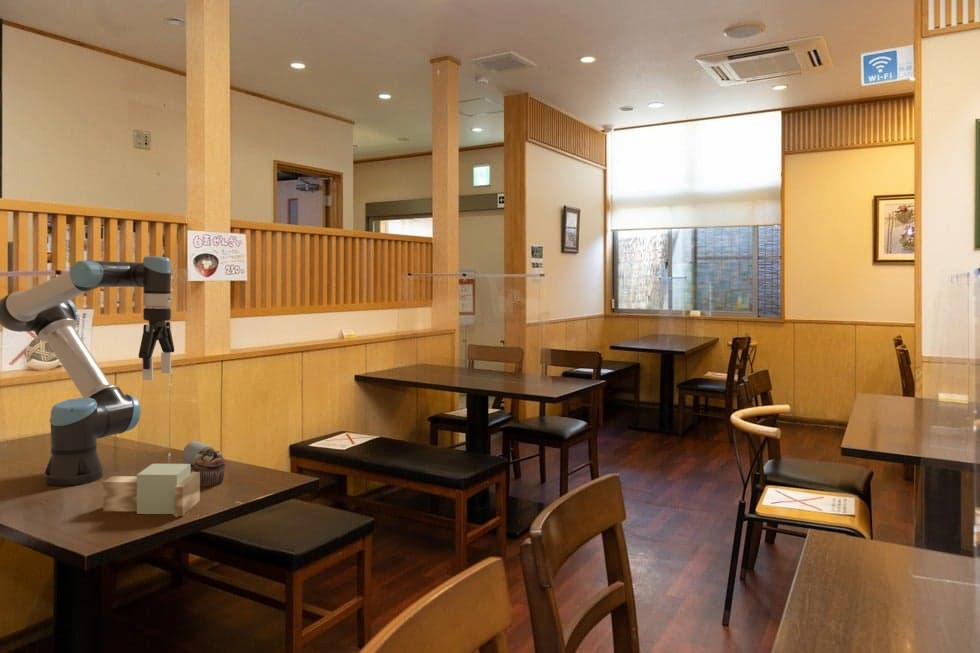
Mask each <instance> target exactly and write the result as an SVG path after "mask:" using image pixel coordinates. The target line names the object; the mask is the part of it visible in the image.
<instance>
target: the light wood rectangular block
mask: <svg viewBox="0 0 980 653" xmlns="http://www.w3.org/2000/svg"><path fill="white" fill-rule="evenodd" d="M102 483H103V485H102V486H103V487H102V492H103V494H102V495H103V496H102V497H103V500H102V502H103V504H102V505H103V510H102V511H103V512H137V475H136V476H134V475H133V476H131V475H130V476H128V475H127V476H125V475H124V476H123V475H121V476H119V475H117V476H116V475H115V476H114V475H112V476H110V477H109V478H108V479H105V480H104V481H103V482H102Z"/></svg>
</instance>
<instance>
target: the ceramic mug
mask: <svg viewBox="0 0 980 653" xmlns="http://www.w3.org/2000/svg"><path fill="white" fill-rule="evenodd" d="M209 449H211V450H212V452H213V451H216V449H215V448H214V447H213V446H211V445H209V444H207V443H204V442H201V441H198V440H192V441H190V442H188V443H187V444H186V445H185V447H184V448H183V451H182V459H183V461H184V462H185V464H191V465H192V466H193V465H194V464H195V460H196V459H197V458H196V455H197V454H198V453H199V452H201V451H207V450H209ZM204 453H205V454H206V452H204Z"/></svg>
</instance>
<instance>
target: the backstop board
mask: <svg viewBox="0 0 980 653" xmlns="http://www.w3.org/2000/svg"><path fill="white" fill-rule="evenodd" d="M200 500H201V486H200V472H192V471H191V474H190V475H188V476H187V477H186V478H185V479H184V480H182V481H181V482H180V483H179V484H178V485H177V486H175V515H174V517H175V516H183V515H184V514H185V513H186V512H187V511H188V510H189V509H190V508H191V509H193V507H195V506H196V504H198V503H199V502H200ZM191 509H190V510H191ZM190 510H189V511H190ZM189 511H188V512H189ZM188 512H187V513H188ZM187 513H186V514H187ZM186 514H185V515H186ZM185 515H184V516H185ZM184 516H183V517H184Z"/></svg>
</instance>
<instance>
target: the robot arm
mask: <svg viewBox="0 0 980 653" xmlns="http://www.w3.org/2000/svg"><path fill="white" fill-rule="evenodd" d="M171 265H172V264H171V260H170V258H169V257H166V256H144V257H143V259H142V262H132V261H131V262H130V261H109V260H107V261H106V260H104V261H103V260H90V259H88V260H87V259H86V260H78V261H75V262H73V263H72V266H71V267H70V268H69V271H67V272H64V273H62V274H60V275H57V276H56V277H54V278H51V279H49V280H46V281H44V282H42V283H40V284H37V285H35V286H32V287H31V288H29V289H26V290H25V291H18V290H17V291H13V292H11V293H10V294H7V295H5V296H3V297H2V298H0V326H2V328H5V330H8V331H12V332H20V333H21V332H34V333H35V335H36V337H37V338H38V340H39V341H41V342H46V343H47V344H48V345H49V347H50V348H51V350H52V351H53V353H54V354H55V357H56V358H57V359H58V361H59V363H60V364H61V365H62V367H63V368H64V370H65V372H66V373H67V374H68V376H69V378H70V379H71V382H73V384H74V386H75V387H76V389H77V391H78V392H79V394H80V395H81V397H77V398H71V399H65V400H63V401H60V402H58V403H56V404H54V406H52V408H51V410H50V418H49V423H50V457H49V460H48V463H47V465H46V469H45V471H44V474H43V477H44V478H43V482H44V483H45V484H47V485H49V486H60V487H61V486H75V485H83V484H88V483H91V482H95V481H97V480H99V479H102V478H103V476H104V467H103V464H102V461H101V459H100V456H99V453H98V450H97V449H98V448H97V440H98V439H102V438H105V437H111V436H114V435H118V434H119V435H120V434H124V433H125V432H128V431H131V430H132V429H134V428H136V426H138V423H139V421H140V418H141V413H142V412H141V411H142V410H141V405H140V402H139V400H138V399H137V397H135V396H134V395H132V394H128V393H126V394H125V393H124V392H123V391H122V389H121V388H120V386H118V385H113V384H112V383H111V382H110V381H109V379H108V378H107V376H106V375H105V373H104V372H103V370H102V368H101V367H100V365H99V364H98V363H97V361H96V359H95V358H94V356H93V355H92V353H91V352H90V350H89V349H88V347H87V345H86V344H85V342H84V341H83V340H82V338H81V337H80V335H79V334H78V332H77V330H76V328H77V326H78V325H77V323H78V322H77V321H78V317H79V316H78V314H77V312H78V309H77V307H76V305H75V303H74V302H73V299H75V298H78V297H79V296H81V295H83V294H86V293H88V292H91V291H94V290H95V289H98V288H106V287H107V288H111V287H113V288H114V287H120V288H121V287H122V288H125V287H126V288H127V287H129V288H130V287H131V288H136V287H137V288H142V289H143V293H142V294H143V295H142V305H143V307H144V308H143V311H142V312H143V313H142V314H143V318H142V319H143V320H144V321H148V324H144V325H143V329H142V337H141V342H140V347H139V351H138V358H139V359H142V364H141V365H142V368H141V369H142V381H153V380H154V358H153V353H154V350H155V347H156V345H157V341H158V343H159V344H160V348H161V351H162V352H160V355H161V356H160V363H161V364H160V366H161V367H160V373H161V374H172V353H174V352H175V345H174V340H173V336H172V330H171V322H170V321H171V318H172V314H171V313H172V309H171V308H170V307H171V302H172V300H173V297H172V295H171V294H172V293H171V292H172V290H171V288H172V284H171V283H172V282H171V281H172V279H171V278H172V267H171Z"/></svg>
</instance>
